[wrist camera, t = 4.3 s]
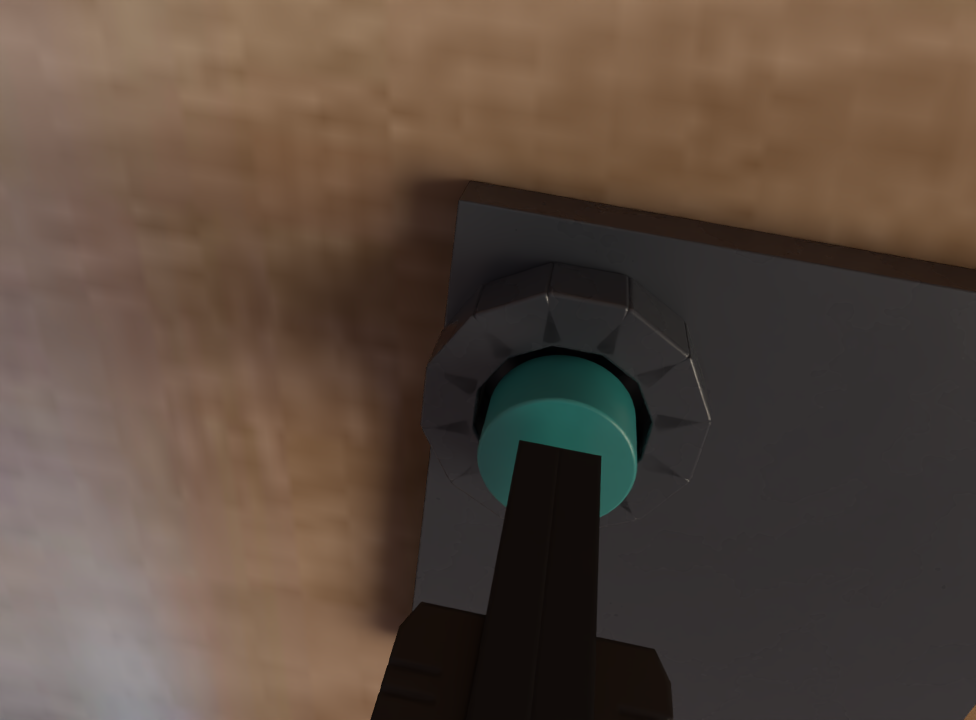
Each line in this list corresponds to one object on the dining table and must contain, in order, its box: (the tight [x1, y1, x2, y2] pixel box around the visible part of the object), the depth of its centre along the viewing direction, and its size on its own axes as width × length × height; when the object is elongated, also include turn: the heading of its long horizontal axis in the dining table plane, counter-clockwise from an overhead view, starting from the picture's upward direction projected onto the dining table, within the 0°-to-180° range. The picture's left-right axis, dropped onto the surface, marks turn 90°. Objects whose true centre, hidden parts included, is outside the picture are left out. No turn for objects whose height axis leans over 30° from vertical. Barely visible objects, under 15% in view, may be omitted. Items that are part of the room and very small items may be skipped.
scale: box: [412, 181, 976, 720], centre depth 19 cm, size 16×16×3 cm
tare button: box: [477, 355, 637, 517], centre depth 16 cm, size 3×3×2 cm
